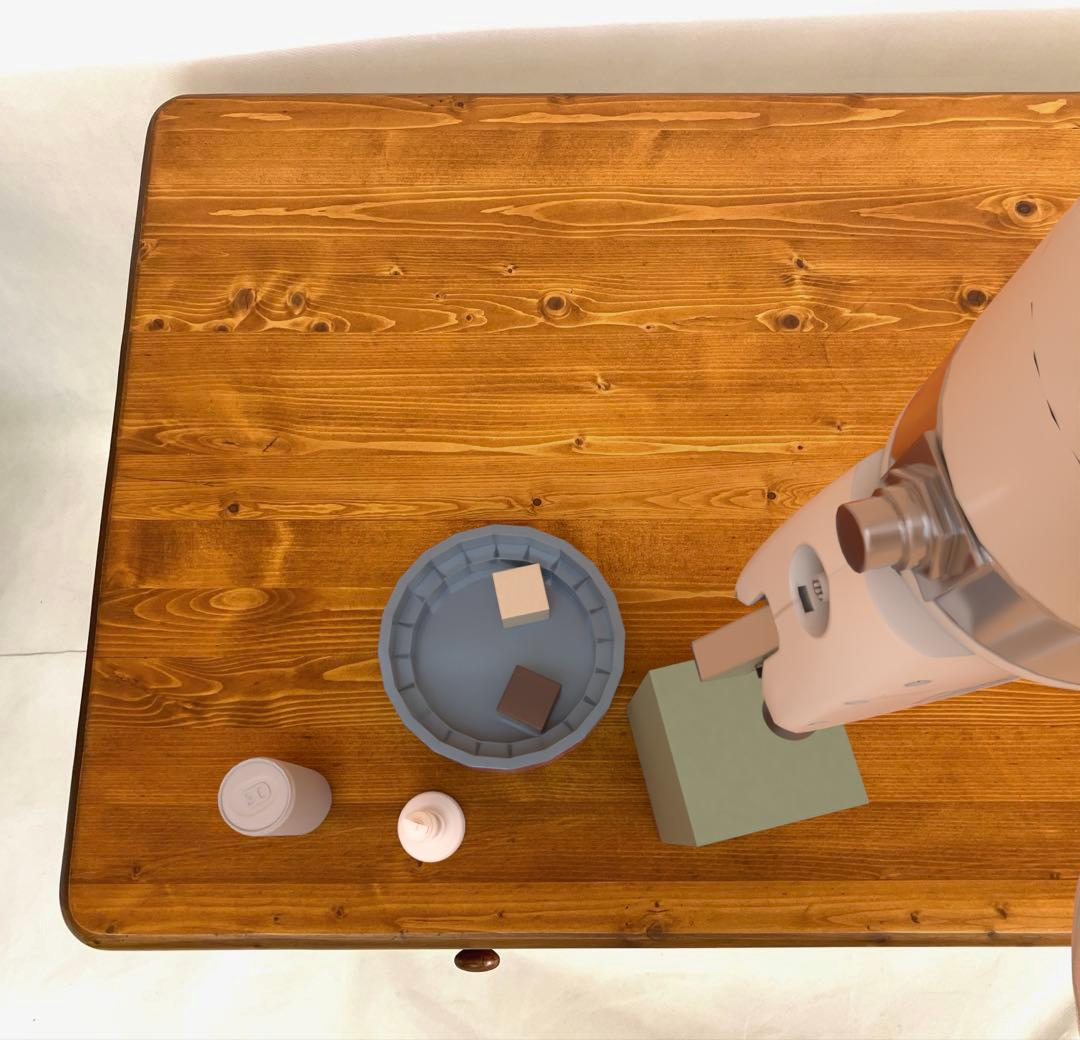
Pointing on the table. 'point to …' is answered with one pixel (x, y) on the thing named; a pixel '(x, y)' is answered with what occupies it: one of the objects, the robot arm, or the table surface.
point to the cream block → (521, 595)
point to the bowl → (498, 648)
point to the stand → (731, 759)
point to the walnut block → (529, 699)
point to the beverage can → (273, 798)
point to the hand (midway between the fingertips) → (834, 652)
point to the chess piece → (431, 826)
